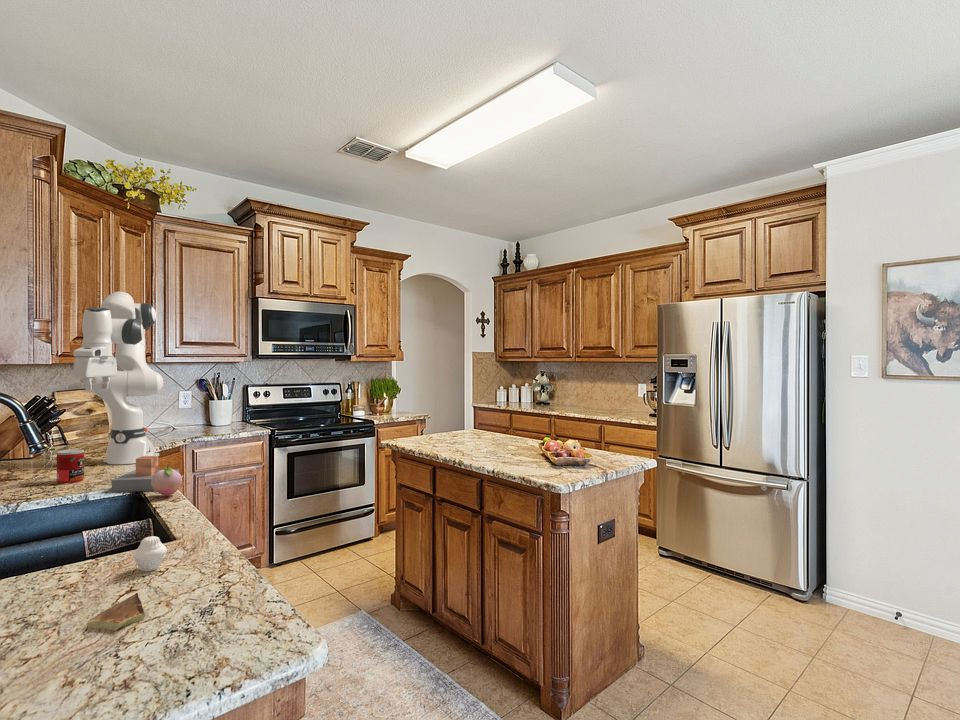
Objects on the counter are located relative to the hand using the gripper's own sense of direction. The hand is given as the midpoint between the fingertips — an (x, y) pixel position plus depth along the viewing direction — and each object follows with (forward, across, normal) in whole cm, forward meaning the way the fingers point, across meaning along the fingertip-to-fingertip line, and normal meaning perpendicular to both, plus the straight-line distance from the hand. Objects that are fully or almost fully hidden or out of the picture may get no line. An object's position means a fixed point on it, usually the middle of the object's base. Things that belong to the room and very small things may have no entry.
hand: (97, 389), depth 187 cm
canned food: (+33, +1, -8) cm, 34 cm away
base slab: (+33, +11, +22) cm, 41 cm away
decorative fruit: (+33, +27, +35) cm, 55 cm away
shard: (+34, +108, +61) cm, 128 cm away
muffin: (+34, +87, +57) cm, 109 cm away
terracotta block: (+29, +11, +22) cm, 38 cm away
